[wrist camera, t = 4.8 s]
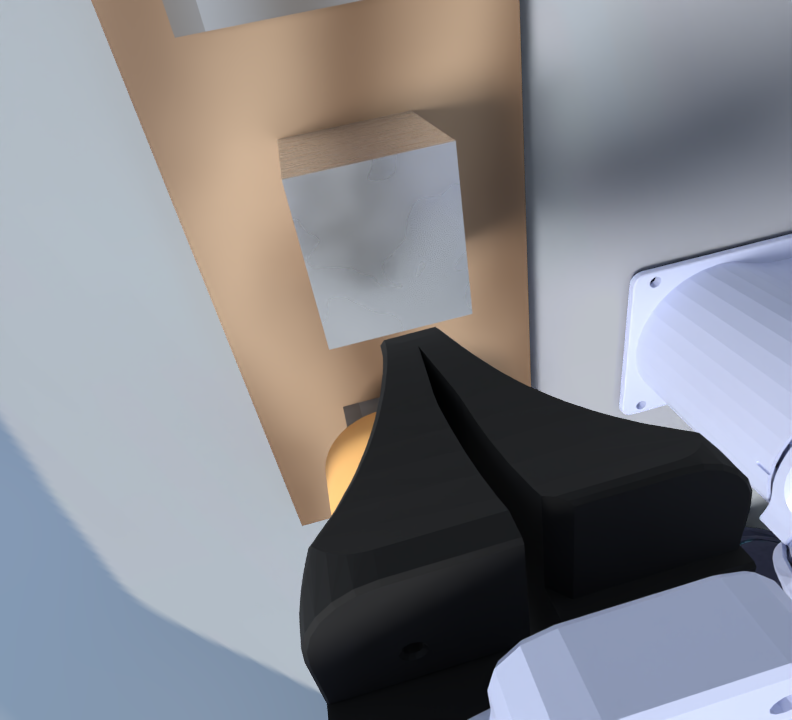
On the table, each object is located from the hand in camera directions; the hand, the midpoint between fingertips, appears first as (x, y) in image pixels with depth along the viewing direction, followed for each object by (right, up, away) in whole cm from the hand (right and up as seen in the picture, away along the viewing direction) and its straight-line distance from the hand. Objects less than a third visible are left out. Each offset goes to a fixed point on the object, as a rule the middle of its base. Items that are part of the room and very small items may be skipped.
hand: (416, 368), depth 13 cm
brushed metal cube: (-2, +6, +6) cm, 9 cm away
